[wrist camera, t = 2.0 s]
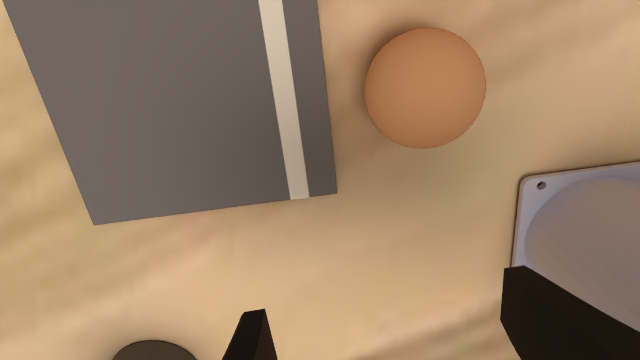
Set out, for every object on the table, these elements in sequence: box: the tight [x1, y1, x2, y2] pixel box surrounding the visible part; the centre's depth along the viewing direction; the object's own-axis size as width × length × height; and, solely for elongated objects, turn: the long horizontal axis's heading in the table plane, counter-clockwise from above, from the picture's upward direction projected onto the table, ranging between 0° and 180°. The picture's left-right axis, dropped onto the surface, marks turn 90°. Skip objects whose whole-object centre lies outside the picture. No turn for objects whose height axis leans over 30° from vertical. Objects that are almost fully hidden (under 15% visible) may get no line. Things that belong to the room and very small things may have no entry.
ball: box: [364, 28, 486, 149], centre depth 17 cm, size 5×5×5 cm
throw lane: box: [2, 0, 337, 225], centre depth 19 cm, size 13×11×1 cm
